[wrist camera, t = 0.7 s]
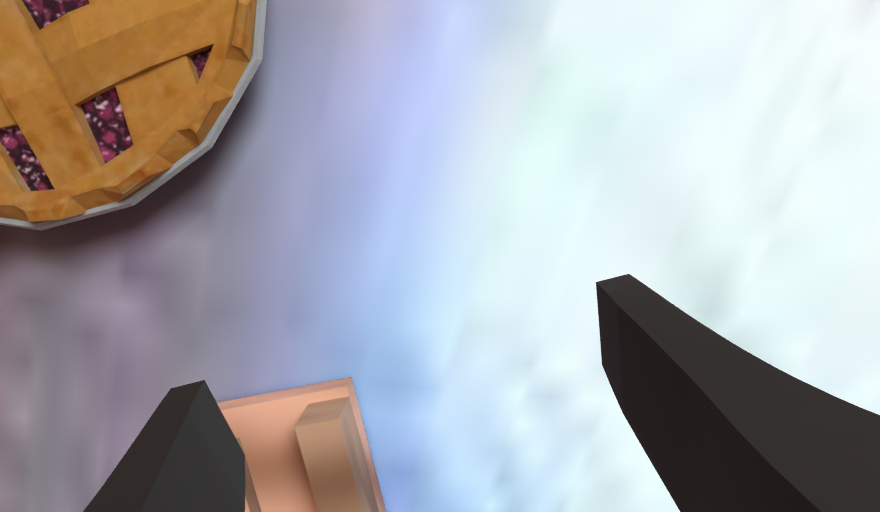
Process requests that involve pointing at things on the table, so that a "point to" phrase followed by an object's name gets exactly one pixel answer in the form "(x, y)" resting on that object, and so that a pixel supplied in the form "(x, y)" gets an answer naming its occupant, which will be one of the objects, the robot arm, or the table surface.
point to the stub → (305, 450)
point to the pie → (114, 98)
